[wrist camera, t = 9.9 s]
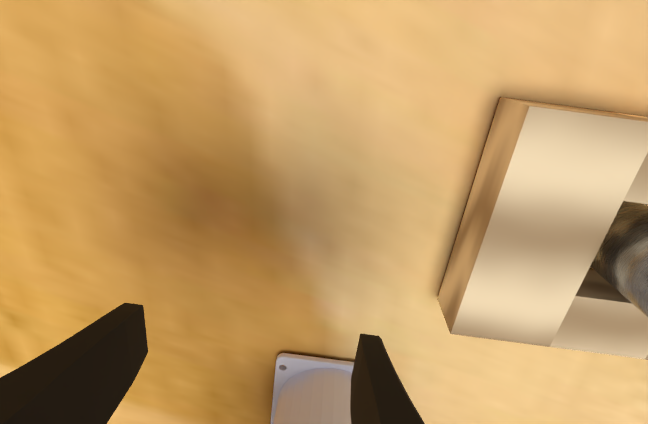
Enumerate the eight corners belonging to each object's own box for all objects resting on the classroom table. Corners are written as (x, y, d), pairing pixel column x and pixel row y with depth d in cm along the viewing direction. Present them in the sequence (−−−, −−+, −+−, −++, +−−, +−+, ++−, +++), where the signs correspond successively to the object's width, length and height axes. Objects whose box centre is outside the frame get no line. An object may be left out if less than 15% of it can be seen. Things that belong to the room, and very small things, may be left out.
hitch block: (694, 332, 22) (743, 372, 20) (437, 298, 22) (450, 333, 20) (829, 141, 17) (920, 158, 15) (500, 97, 17) (529, 106, 15)
